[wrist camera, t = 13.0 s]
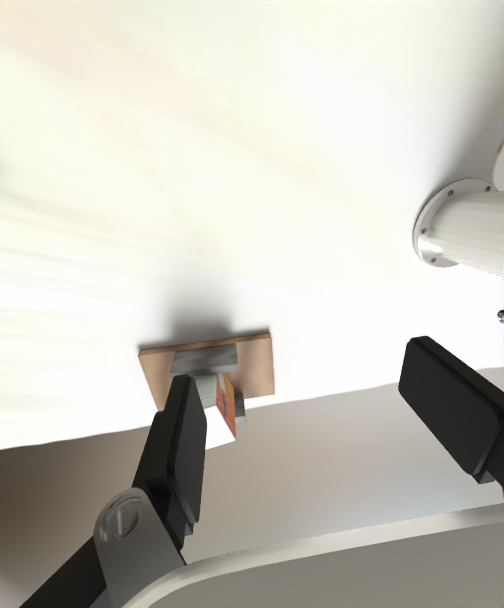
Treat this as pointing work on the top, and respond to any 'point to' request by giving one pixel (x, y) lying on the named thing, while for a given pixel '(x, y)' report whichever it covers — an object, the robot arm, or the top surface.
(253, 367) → the holder stand
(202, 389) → the small box
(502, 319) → the blueberries
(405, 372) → the robot arm
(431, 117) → the top surface
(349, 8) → the top surface
